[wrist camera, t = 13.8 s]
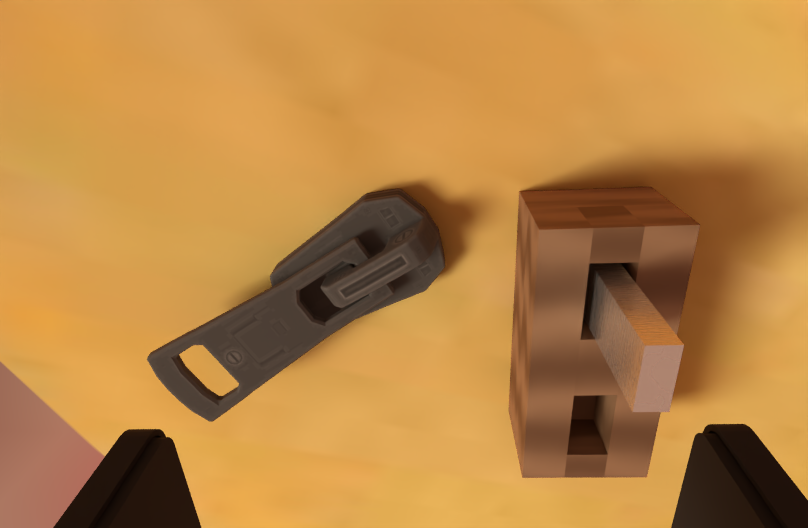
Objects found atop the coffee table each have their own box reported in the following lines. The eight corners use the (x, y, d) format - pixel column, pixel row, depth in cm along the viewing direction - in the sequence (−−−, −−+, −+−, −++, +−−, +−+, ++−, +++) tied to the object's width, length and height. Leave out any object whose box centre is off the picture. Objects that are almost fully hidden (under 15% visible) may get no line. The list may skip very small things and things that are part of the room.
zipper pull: (132, 358, 41) (397, 198, 34) (170, 314, 47) (401, 171, 40) (208, 432, 44) (465, 299, 37) (234, 382, 50) (459, 259, 43)
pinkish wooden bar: (583, 251, 38) (645, 345, 27) (610, 250, 38) (684, 345, 27) (577, 304, 40) (632, 412, 29) (603, 304, 40) (669, 411, 29)
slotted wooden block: (519, 191, 40) (539, 229, 33) (650, 186, 40) (700, 224, 32) (508, 410, 50) (522, 477, 43) (614, 409, 49) (646, 477, 42)
